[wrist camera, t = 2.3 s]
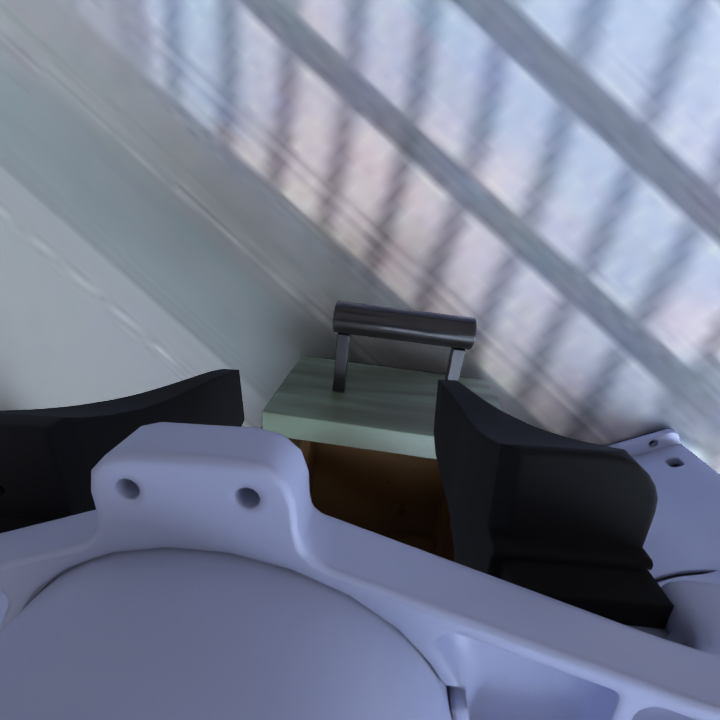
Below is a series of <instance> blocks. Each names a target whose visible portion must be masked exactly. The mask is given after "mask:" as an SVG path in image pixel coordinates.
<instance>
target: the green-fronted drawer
mask: <svg viewBox="0 0 720 720" xmlns="http://www.w3.org/2000/svg"><path fill="white" fill-rule="evenodd" d="M476 329H477V324H476V319H475V318H471V317H463V316H455V315H447V314H439V313H431V312H423V311H415V310H407V309H399V308H391V307H383V306H375V305H367V304H359V303H351V302H343V301H337V303H336V305H335V310H334V316H333V331H334V332H336V333H338V334H337V344H336V356H335V360H331V359H323V358H316V357H308V356H301V358H300V359H299V361H298V362H297V363H296V365H295V366H294V368H293V369H292V370H291V372H290V373H289V375H288V376H287V378H286V379H285V380H284V382H283V383H282V385H281V386H280V387H279V389H278V390H277V392H276V393H275V394H274V396H273V397H272V399H271V400H270V401H269V403H268V404H267V406H266V407H265V409H264V410H263V411H262V429H265V430H269V431H272V432H276V433H279V434H282V435H284V436H286V437H287V438H288V439H289V440H290V441H291V442H292V443H293V444H295V445H296V446H297V447H298V448H299V449H300V450H301V451H302V453H303V456H304V459H305V462H306V465H307V468H308V470H309V492H310V497H311V501H312V503H313V505H314V507H315V508H316V509H317V510H319V511H320V512H321V513H323V514H325V515H328V516H331V517H333V518H336V519H339V520H342V521H344V522H347V523H350V524H352V525H355V526H358V527H361V528H363V529H366V530H369V531H371V532H374V533H377V534H380V535H382V536H385V537H388V538H390V539H393V540H396V541H399V542H401V543H404V544H407V545H409V546H412V547H415V548H418V549H420V550H423V551H426V552H428V553H431V554H434V555H437V556H439V557H442V558H445V559H447V560H450V561H453V562H455V557H454V547H453V538H452V530H451V522H450V514H449V509H448V504H447V499H446V495H445V491H444V487H443V483H442V479H441V475H440V470H439V466H438V462H437V458H436V453H435V443H434V420H435V409H436V398H437V387H438V379H440V380H457V381H458V382H460V383H462V384H463V385H464V386H466V387H467V388H468V389H470V390H471V391H472V392H474V393H475V394H477V395H478V396H479V397H481V398H482V399H484V400H485V401H487V402H488V403H490V404H491V405H493V406H494V407H496V408H498V409H499V410H501V411H503V412H504V410H503V408H502V407H501V405H500V403H499V401H498V399H497V397H496V396H495V394H494V392H493V390H492V388H491V387H490V385H489V383H488V381H487V380H480V379H473V378H465V377H460V374H461V370H462V365H463V360H464V356H465V349H467V350H469V349H471V348H472V346H473V344H474V341H475V337H476ZM351 334H352V335H359V336H367V337H375V338H383V339H390V340H398V341H406V342H413V343H421V344H429V345H437V346H444V347H451V350H450V355H449V360H448V365H447V370H446V375H443V374H435V373H428V372H420V371H413V370H405V369H398V368H391V367H383V366H376V365H368V364H361V363H353V362H348V358H349V348H350V338H351Z"/></svg>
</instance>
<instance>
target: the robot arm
mask: <svg viewBox="0 0 720 720" xmlns="http://www.w3.org/2000/svg"><path fill="white" fill-rule="evenodd" d="M243 422H244V411H243V402H242V392H241V383H240V374H239V370H229V369H221V370H215V371H211V372H208V373H204V374H201V375H198V376H195V377H192V378H189V379H186V380H183V381H180V382H177V383H174V384H171V385H168V386H164V387H161V388H158V389H155V390H151V391H148V392H144V393H140V394H137V395H132V396H128V397H124V398H119V399H114V400H109V401H102V402H96V403H90V404H84V405H77V406H68V407H59V408H47V409H34V410H8V411H0V720H720V474H718V473H717V472H716V471H714V470H713V469H712V468H711V467H709V466H708V465H707V464H706V463H704V462H703V461H702V460H701V459H699V458H698V457H697V456H696V455H694V454H693V453H692V452H691V451H689V450H688V449H687V448H685V447H684V446H683V445H682V444H681V440H680V436H679V434H678V433H677V432H676V431H674V430H673V429H665V430H662V431H658V432H655V433H651V434H648V435H644V436H641V437H637V438H634V439H630V440H627V441H623V442H619V443H616V444H612V445H609V446H603V445H597V444H592V443H587V442H583V441H579V440H575V439H571V438H567V437H564V436H560V435H557V434H554V433H551V432H548V431H545V430H543V429H540V428H537V427H534V426H532V425H529V424H527V423H525V422H523V421H521V420H518V419H516V418H514V417H512V416H510V415H508V414H506V413H505V412H503V411H501V410H499V409H498V408H496V407H494V406H493V405H491V404H490V403H488V402H487V401H485V400H484V399H482V398H481V397H479V396H478V395H477V394H475V393H474V392H472V391H471V390H470V389H468V388H467V387H466V386H464V385H463V384H462V383H460V382H458V381H457V380H440V379H438V387H437V398H436V409H435V420H434V443H435V453H436V458H437V462H438V466H439V470H440V475H441V479H442V483H443V487H444V491H445V495H446V499H447V504H448V509H449V514H450V522H451V530H452V538H453V547H454V557H455V562H453V561H450V560H447V559H445V558H442V557H439V556H437V555H434V554H431V553H428V552H426V551H423V550H420V549H418V548H415V547H412V546H409V545H407V544H404V543H401V542H399V541H396V540H393V539H390V538H388V537H385V536H382V535H380V534H377V533H374V532H371V531H369V530H366V529H363V528H361V527H358V526H355V525H352V524H350V523H347V522H344V521H342V520H339V519H336V518H333V517H331V516H328V515H325V514H323V513H321V512H320V511H319V510H317V509H316V508H315V507H314V505H313V503H312V501H311V497H310V492H309V470H308V468H307V465H306V462H305V459H304V456H303V453H302V451H301V450H300V449H299V448H298V447H297V446H296V445H295V444H293V443H292V442H291V441H290V440H289V439H288V438H287V437H286V436H284V435H282V434H279V433H276V432H272V431H269V430H265V429H262V428H253V427H241V426H242V424H243ZM652 440H654V442H653V443H651V444H649V443H650V442H651V441H652Z"/></svg>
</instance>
